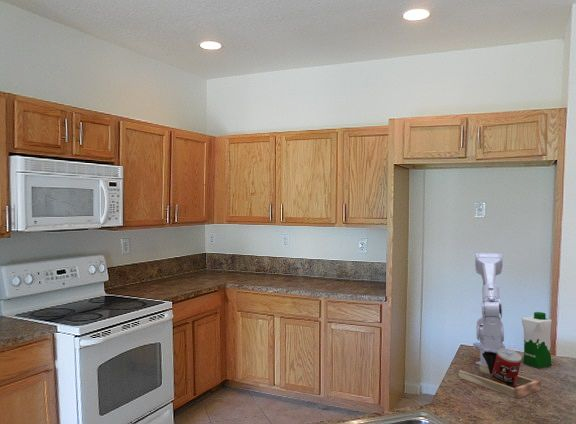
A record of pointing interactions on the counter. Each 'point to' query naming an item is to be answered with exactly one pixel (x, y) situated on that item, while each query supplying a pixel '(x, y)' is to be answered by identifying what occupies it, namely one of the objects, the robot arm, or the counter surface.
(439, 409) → the counter surface
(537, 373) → the counter surface
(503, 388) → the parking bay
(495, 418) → the counter surface
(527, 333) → the milk carton
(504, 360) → the canned food
